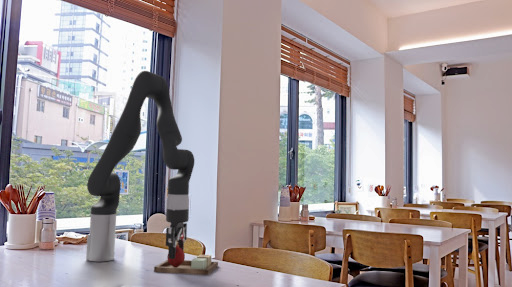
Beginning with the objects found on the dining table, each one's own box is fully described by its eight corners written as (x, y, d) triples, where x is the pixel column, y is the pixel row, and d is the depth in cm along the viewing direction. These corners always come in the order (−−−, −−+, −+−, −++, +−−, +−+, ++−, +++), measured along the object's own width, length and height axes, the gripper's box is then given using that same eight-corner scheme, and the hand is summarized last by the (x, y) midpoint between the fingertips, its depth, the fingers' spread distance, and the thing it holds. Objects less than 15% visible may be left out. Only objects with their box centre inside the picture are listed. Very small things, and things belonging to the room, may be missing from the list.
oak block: (196, 268, 146) (196, 256, 146) (199, 266, 150) (200, 254, 150) (208, 269, 145) (208, 257, 146) (211, 266, 149) (211, 255, 150)
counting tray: (153, 276, 141) (154, 266, 141) (168, 267, 153) (168, 259, 154) (207, 279, 138) (207, 270, 138) (217, 270, 150) (217, 262, 151)
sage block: (191, 272, 140) (191, 260, 140) (194, 270, 144) (195, 257, 144) (202, 273, 140) (203, 260, 140) (206, 270, 143) (206, 258, 144)
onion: (180, 270, 143) (181, 246, 143) (164, 269, 144) (165, 244, 145) (186, 266, 149) (187, 243, 149) (170, 265, 150) (172, 242, 150)
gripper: (174, 205, 155) (172, 251, 154) (159, 208, 141) (157, 259, 140) (194, 206, 154) (193, 253, 153) (181, 209, 140) (179, 261, 139)
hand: (176, 256), depth 146 cm, fingers open, 8 cm apart
